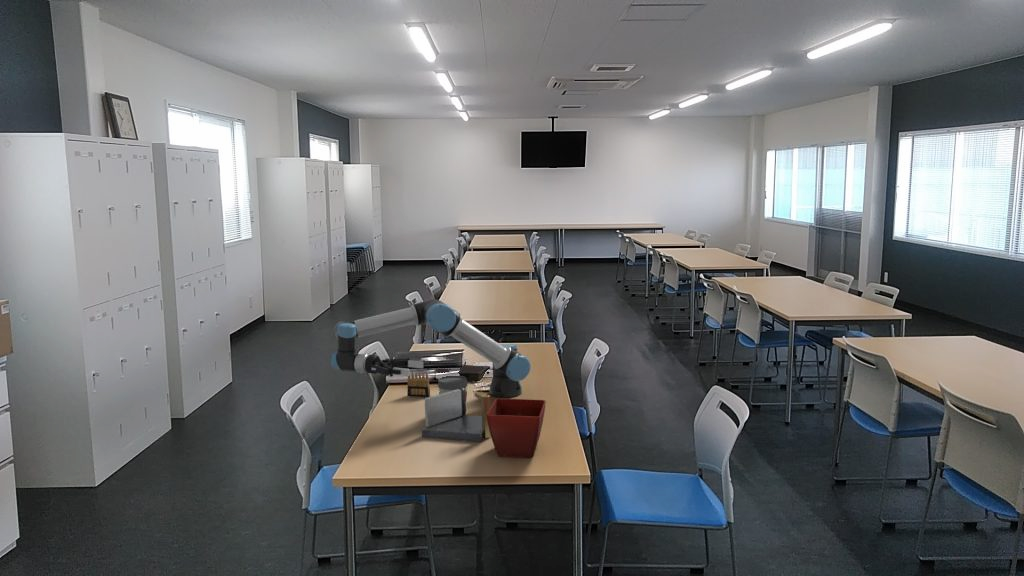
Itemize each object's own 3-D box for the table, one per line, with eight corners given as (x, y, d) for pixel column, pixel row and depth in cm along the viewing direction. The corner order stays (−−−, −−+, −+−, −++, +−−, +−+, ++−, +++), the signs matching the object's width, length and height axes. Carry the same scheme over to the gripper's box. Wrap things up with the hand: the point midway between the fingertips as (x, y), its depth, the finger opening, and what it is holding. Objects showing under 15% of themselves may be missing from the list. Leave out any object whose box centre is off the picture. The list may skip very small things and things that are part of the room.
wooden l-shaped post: (482, 431, 275) (481, 391, 273) (491, 437, 269) (490, 396, 266) (476, 433, 273) (474, 392, 271) (484, 438, 267) (483, 397, 265)
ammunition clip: (430, 396, 324) (429, 371, 322) (429, 397, 322) (428, 372, 320) (408, 395, 326) (407, 370, 324) (407, 396, 324) (406, 371, 322)
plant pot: (540, 462, 243) (539, 416, 241) (487, 460, 246) (485, 414, 244) (546, 442, 262) (546, 399, 260) (496, 440, 265) (495, 398, 263)
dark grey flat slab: (440, 420, 290) (440, 413, 289) (495, 424, 283) (495, 417, 283) (422, 437, 271) (421, 429, 270) (480, 441, 264) (480, 434, 264)
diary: (445, 372, 369) (444, 362, 368) (490, 374, 362) (490, 365, 362) (432, 381, 351) (432, 371, 350) (479, 383, 344) (479, 373, 344)
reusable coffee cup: (474, 412, 299) (473, 378, 297) (452, 420, 290) (451, 385, 288) (454, 406, 307) (453, 373, 305) (433, 413, 298) (431, 380, 296)
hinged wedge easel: (463, 412, 288) (462, 387, 286) (467, 414, 286) (466, 388, 284) (424, 425, 274) (423, 398, 273) (429, 426, 272) (428, 399, 271)
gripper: (382, 366, 296) (428, 370, 290) (353, 380, 272) (402, 385, 266) (382, 348, 295) (428, 353, 289) (353, 361, 271) (403, 366, 265)
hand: (416, 368), depth 278 cm, fingers open, 13 cm apart
